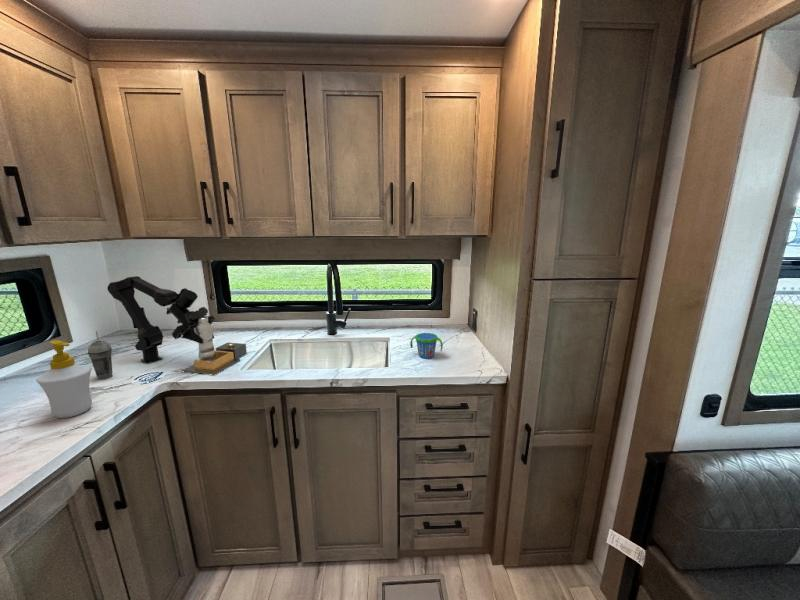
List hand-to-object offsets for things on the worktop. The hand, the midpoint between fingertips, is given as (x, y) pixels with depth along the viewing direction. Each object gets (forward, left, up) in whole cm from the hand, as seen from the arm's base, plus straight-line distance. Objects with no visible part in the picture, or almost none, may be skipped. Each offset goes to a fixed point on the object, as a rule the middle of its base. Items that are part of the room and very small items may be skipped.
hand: (208, 340), depth 143 cm
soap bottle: (+2, -45, -12) cm, 46 cm away
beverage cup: (-23, -31, -12) cm, 41 cm away
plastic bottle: (-1, -1, -10) cm, 10 cm away
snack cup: (+72, +66, -12) cm, 98 cm away
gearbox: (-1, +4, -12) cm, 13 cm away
